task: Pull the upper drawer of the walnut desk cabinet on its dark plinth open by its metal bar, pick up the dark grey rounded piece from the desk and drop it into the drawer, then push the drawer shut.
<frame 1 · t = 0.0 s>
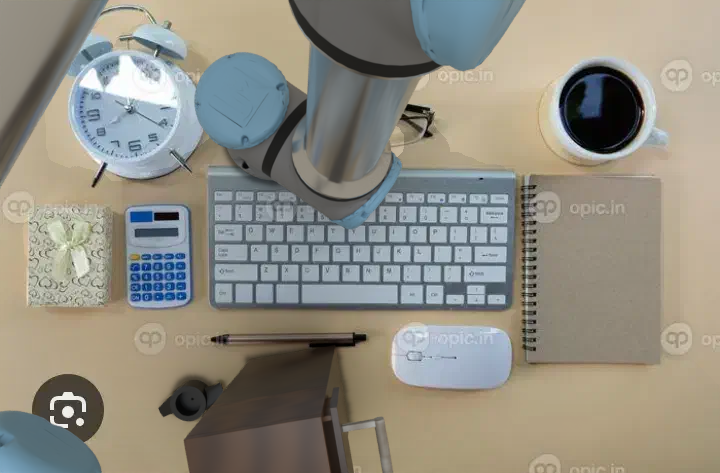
cabinet: (299, 391, 79), on the table
dark grey rounded piece: (194, 396, 79), on the table
drawer: (307, 459, 54), point 24 cm above the table, slide at 0.5 cm
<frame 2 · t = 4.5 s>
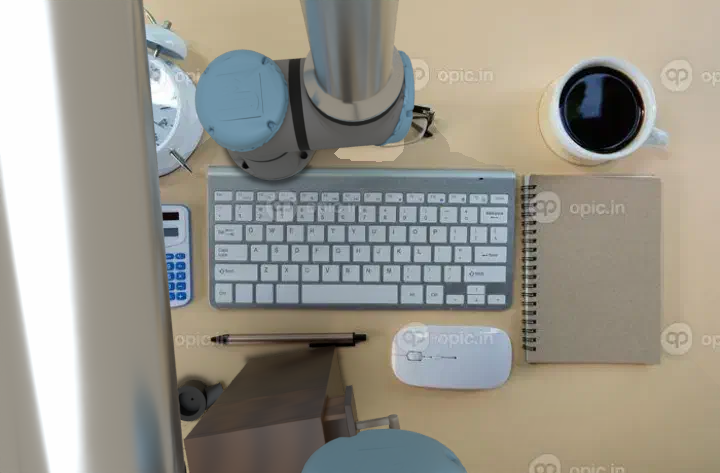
hand: (379, 449, 54), 25 cm above the table, tool pointing down, fingers closed
drawer: (320, 457, 54), point 24 cm above the table, slide at 2.1 cm, touching gripper
everything else where it was.
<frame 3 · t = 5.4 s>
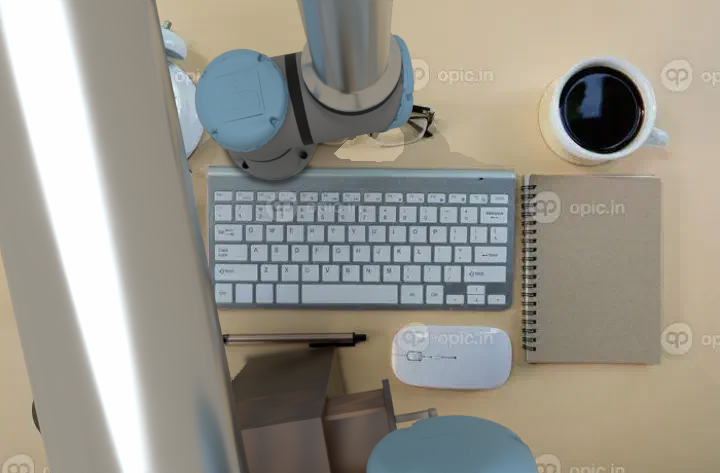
hand: (417, 442, 54), 24 cm above the table, tool pointing down, fingers closed
drawer: (358, 450, 54), point 24 cm above the table, slide at 6.5 cm, touching gripper
everything else where it was.
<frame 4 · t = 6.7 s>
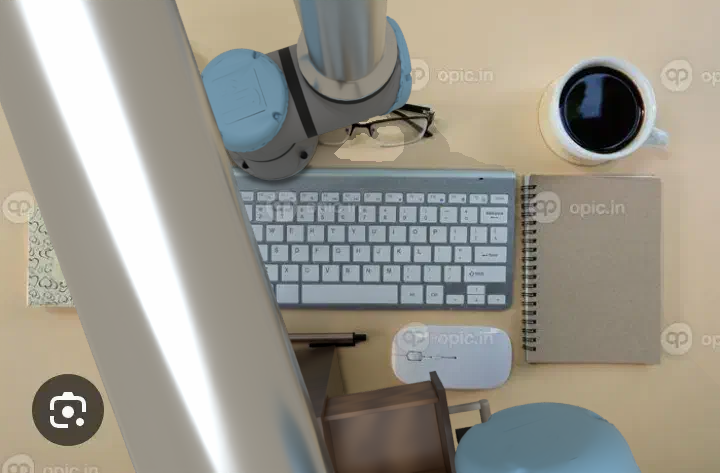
hand: (467, 433, 54), 24 cm above the table, tool pointing down, fingers closed
drawer: (408, 442, 54), point 24 cm above the table, slide at 12.4 cm, touching gripper
everything else where it was.
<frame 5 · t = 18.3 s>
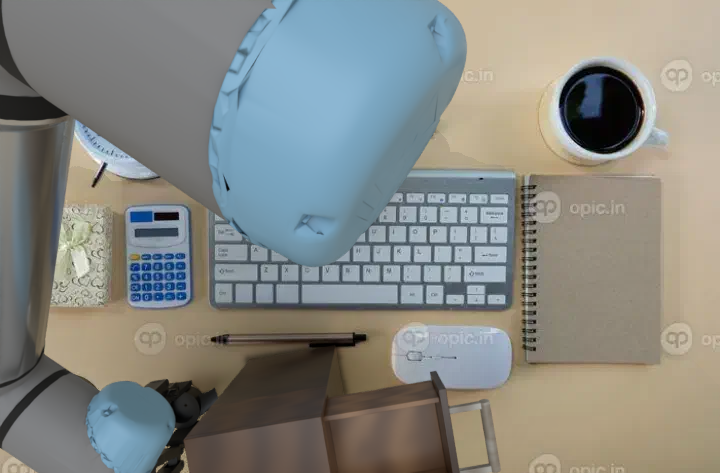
hand: (187, 403, 75), 4 cm above the table, tool pointing down, fingers closed on dark grey rounded piece, 6 cm apart
dark grey rounded piece: (188, 402, 75), point 3 cm above the table, touching gripper
drawer: (409, 442, 54), point 24 cm above the table, slide at 12.5 cm
when the fingers open (26 cm above the table, at t = 28.1 s): dark grey rounded piece stays where it is, resting on drawer.
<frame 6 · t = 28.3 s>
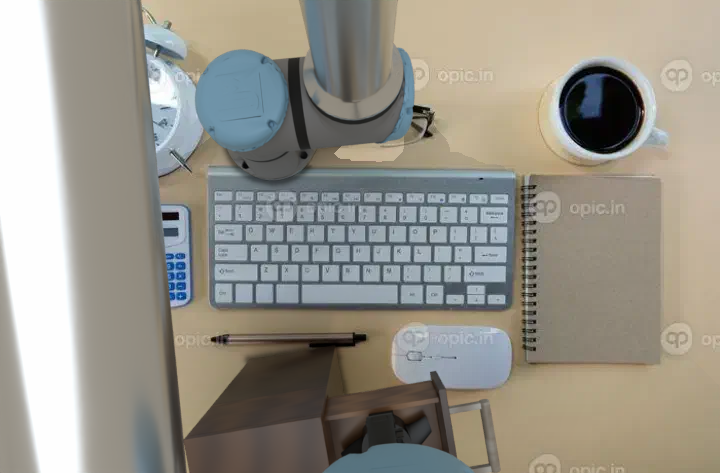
hand: (388, 456, 52), 27 cm above the table, tool pointing down, fingers open, 9 cm apart
dark grey rounded piece: (385, 435, 57), point 22 cm above the table, touching drawer
drawer: (409, 442, 54), point 24 cm above the table, slide at 12.4 cm, touching dark grey rounded piece, gripper
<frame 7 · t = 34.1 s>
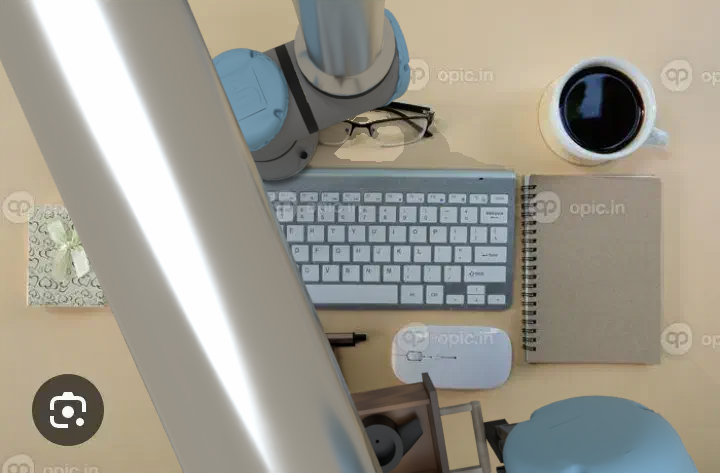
hand: (494, 426, 54), 24 cm above the table, tool pointing down, fingers closed
dark grey rounded piece: (377, 437, 57), point 22 cm above the table, touching drawer
drawer: (400, 443, 54), point 24 cm above the table, slide at 11.4 cm, touching dark grey rounded piece, gripper
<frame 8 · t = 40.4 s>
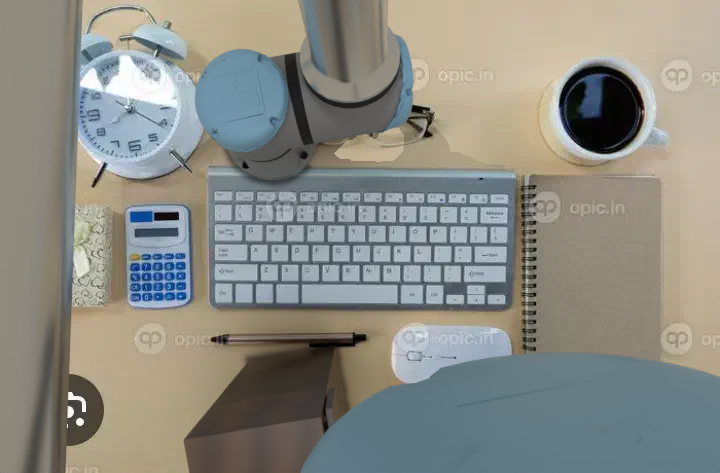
hand: (423, 436, 40), 38 cm above the table, tool pointing down, fingers closed
dark grey rounded piece: (284, 452, 57), point 22 cm above the table, touching drawer
drawer: (302, 460, 54), point 24 cm above the table, slide at 0.0 cm, touching dark grey rounded piece
at the end: drawer pulled out 12.5 cm at the most during the clip, back to where it started at the end; dark grey rounded piece inside the target area on the cabinet (0.8 cm from its centre), point 21.5 cm above the cabinet's base; drawer slide at 0.0 cm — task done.
